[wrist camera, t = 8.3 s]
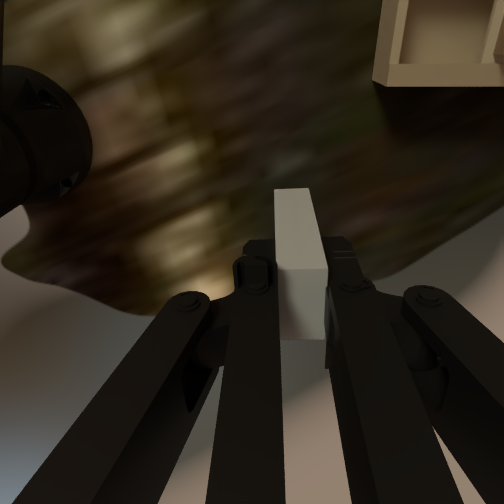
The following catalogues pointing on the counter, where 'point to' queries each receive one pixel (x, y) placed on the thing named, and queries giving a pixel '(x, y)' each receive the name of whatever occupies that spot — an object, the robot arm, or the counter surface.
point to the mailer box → (434, 44)
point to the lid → (494, 36)
